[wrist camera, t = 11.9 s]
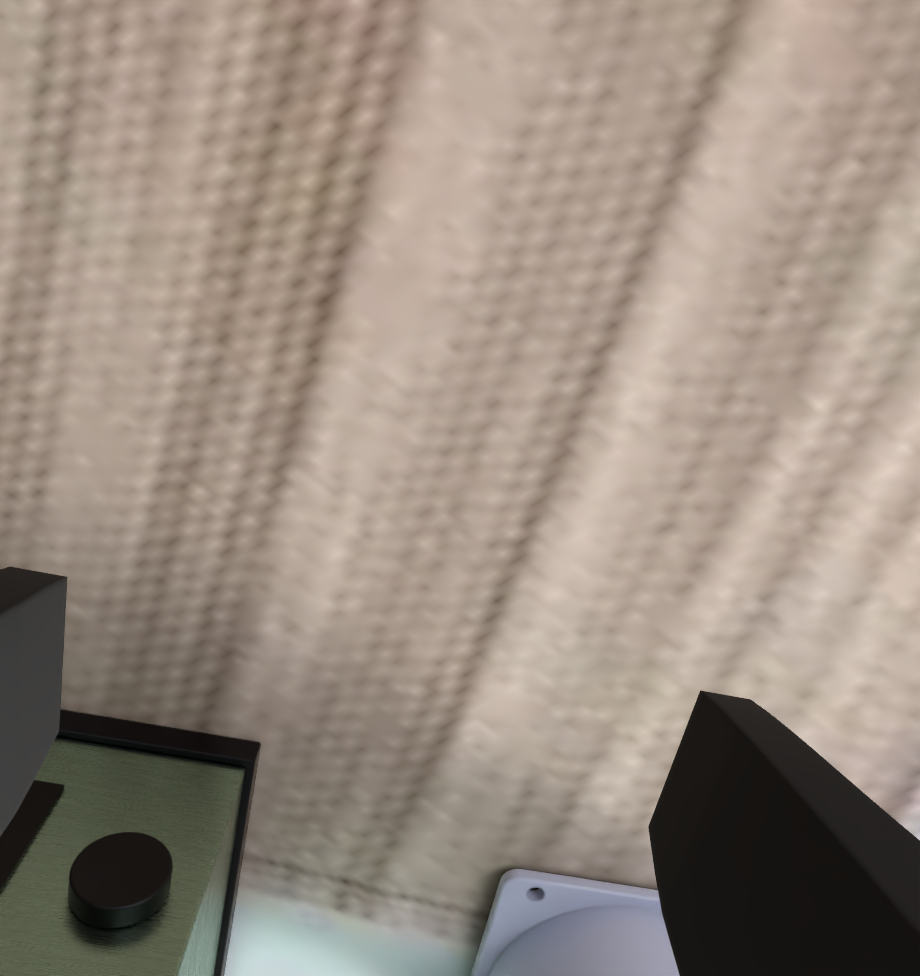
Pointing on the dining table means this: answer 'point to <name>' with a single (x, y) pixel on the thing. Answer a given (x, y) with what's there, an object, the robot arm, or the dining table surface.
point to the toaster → (126, 852)
